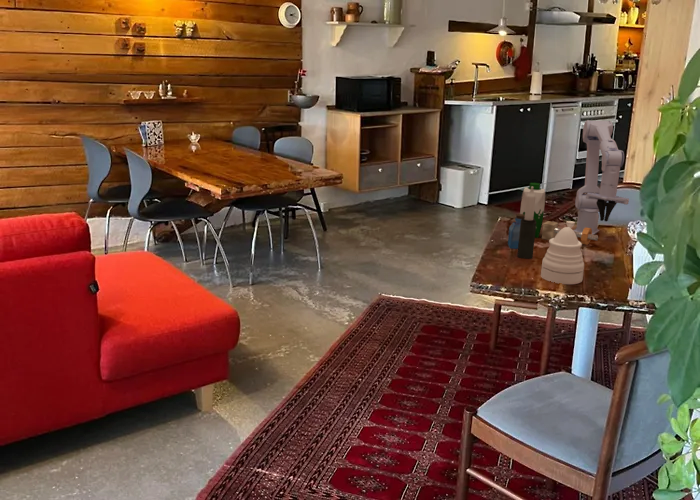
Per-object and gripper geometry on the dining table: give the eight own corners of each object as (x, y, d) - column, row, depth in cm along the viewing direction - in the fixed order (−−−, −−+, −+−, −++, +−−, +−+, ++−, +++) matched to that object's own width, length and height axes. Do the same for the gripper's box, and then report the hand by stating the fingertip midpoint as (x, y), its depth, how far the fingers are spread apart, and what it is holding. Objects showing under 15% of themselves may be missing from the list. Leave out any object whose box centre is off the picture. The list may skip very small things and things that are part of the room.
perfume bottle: (524, 244, 250) (527, 213, 247) (527, 249, 245) (530, 217, 241) (507, 243, 251) (510, 212, 247) (509, 248, 245) (513, 216, 242)
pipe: (543, 231, 259) (544, 226, 259) (545, 230, 261) (546, 225, 260) (596, 241, 248) (596, 235, 247) (597, 240, 250) (598, 234, 249)
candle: (532, 259, 233) (540, 188, 226) (517, 257, 234) (525, 187, 227) (531, 254, 238) (539, 185, 231) (517, 253, 239) (524, 184, 232)
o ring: (580, 244, 250) (582, 229, 248) (585, 241, 255) (587, 226, 253) (585, 246, 249) (587, 230, 247) (590, 242, 253) (592, 227, 252)
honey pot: (550, 268, 224) (556, 216, 219) (588, 277, 216) (596, 223, 211) (533, 277, 214) (540, 223, 209) (573, 287, 206) (580, 230, 201)
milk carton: (541, 233, 267) (546, 183, 261) (540, 238, 258) (546, 187, 253) (518, 230, 269) (523, 181, 263) (517, 236, 261) (522, 185, 255)
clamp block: (541, 238, 259) (543, 223, 257) (546, 235, 263) (548, 221, 261) (551, 240, 257) (553, 225, 255) (556, 237, 261) (558, 222, 259)
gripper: (585, 182, 243) (580, 219, 247) (627, 188, 235) (621, 226, 239) (591, 180, 248) (586, 215, 252) (632, 185, 240) (626, 222, 244)
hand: (604, 220), depth 246 cm, fingers closed
